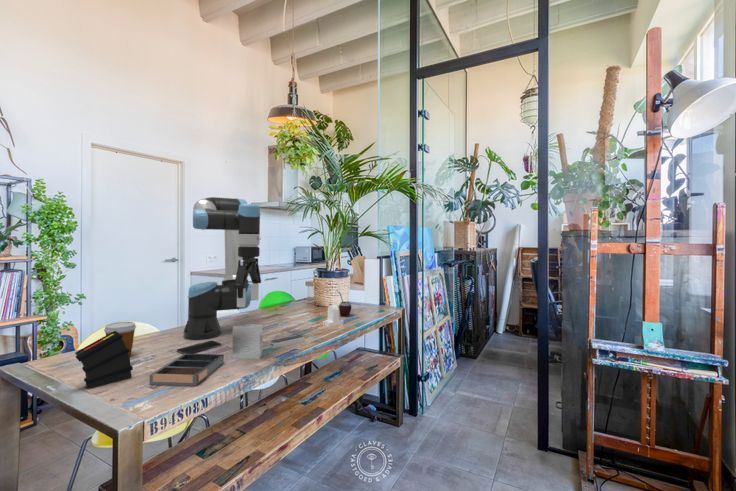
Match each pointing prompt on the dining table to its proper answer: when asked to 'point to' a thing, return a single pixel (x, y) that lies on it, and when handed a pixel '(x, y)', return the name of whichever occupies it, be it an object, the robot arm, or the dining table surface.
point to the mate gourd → (344, 308)
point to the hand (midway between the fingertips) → (248, 303)
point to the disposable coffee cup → (123, 332)
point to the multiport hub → (286, 341)
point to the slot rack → (187, 370)
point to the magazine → (105, 360)
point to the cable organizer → (333, 317)
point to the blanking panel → (247, 341)
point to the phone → (199, 347)
